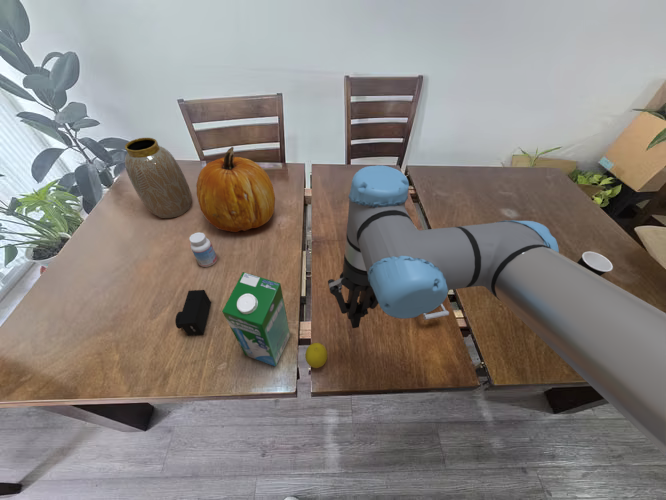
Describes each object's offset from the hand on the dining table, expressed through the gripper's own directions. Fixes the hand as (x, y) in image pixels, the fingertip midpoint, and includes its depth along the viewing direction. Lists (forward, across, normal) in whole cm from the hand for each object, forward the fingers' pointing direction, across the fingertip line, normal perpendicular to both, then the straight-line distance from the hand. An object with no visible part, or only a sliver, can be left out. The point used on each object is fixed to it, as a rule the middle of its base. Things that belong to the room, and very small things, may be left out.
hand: (354, 322), depth 63 cm
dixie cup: (+15, -80, -8) cm, 81 cm away
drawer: (+13, -24, -12) cm, 30 cm away
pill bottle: (+15, +40, -38) cm, 57 cm away
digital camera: (+15, +41, -16) cm, 46 cm away
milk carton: (+15, +22, -5) cm, 26 cm away
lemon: (+15, +9, +2) cm, 17 cm away
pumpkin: (+15, +29, -58) cm, 66 cm away
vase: (+15, +57, -70) cm, 92 cm away
